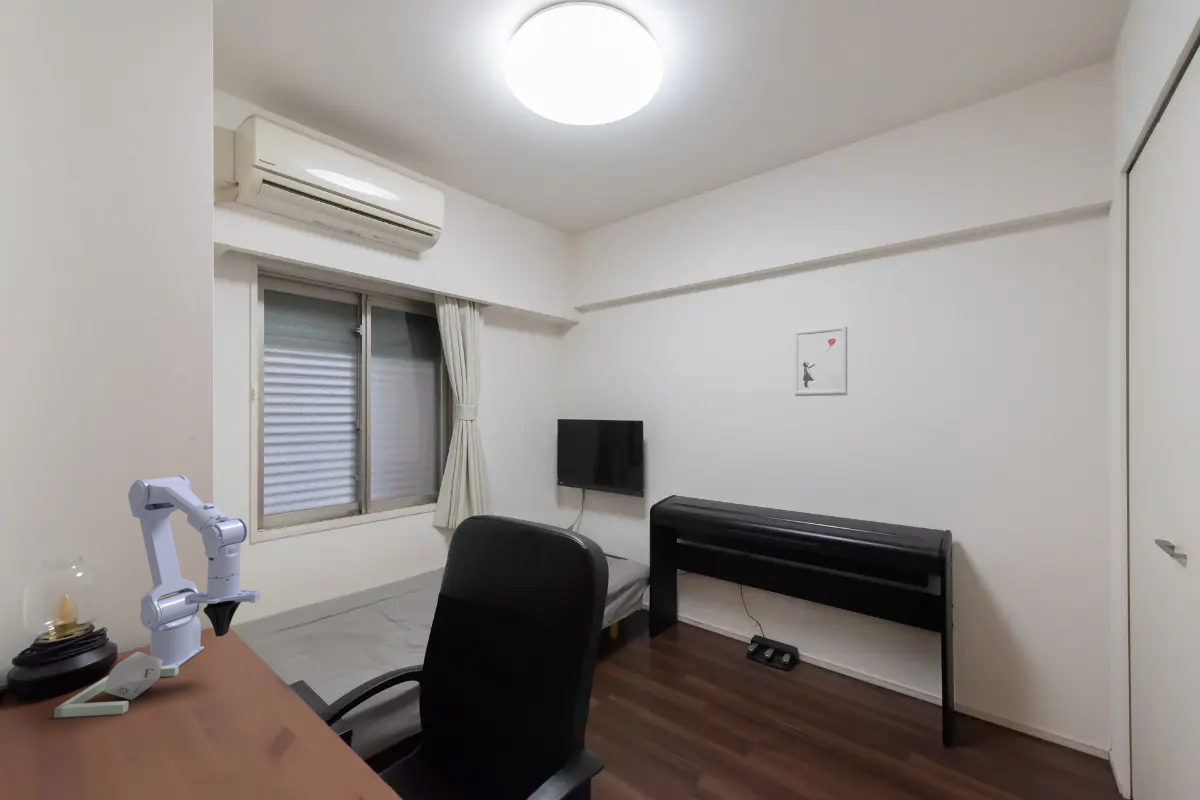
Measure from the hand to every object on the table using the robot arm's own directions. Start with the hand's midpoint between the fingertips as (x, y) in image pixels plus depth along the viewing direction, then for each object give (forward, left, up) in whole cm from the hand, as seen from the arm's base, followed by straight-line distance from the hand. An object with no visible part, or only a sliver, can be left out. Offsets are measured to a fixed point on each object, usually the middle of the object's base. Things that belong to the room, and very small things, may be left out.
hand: (221, 634), depth 107 cm
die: (+5, -14, -10) cm, 17 cm away
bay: (+5, -16, -9) cm, 19 cm away
